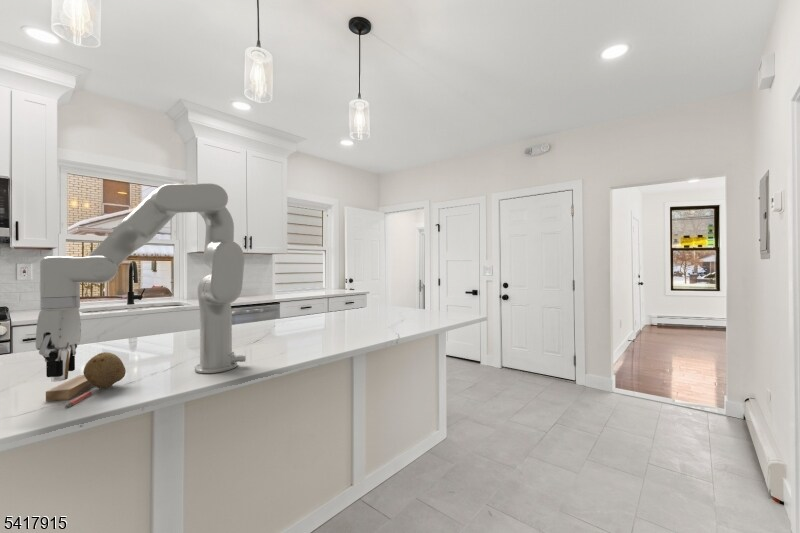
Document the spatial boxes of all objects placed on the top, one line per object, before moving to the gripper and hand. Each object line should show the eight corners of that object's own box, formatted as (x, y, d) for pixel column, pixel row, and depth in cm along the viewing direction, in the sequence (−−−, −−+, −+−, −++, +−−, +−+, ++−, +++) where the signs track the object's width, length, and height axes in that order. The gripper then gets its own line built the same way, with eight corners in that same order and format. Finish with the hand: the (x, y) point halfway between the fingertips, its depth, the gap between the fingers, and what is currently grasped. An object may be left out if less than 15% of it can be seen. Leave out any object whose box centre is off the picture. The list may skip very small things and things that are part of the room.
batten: (99, 382, 107) (99, 373, 107) (69, 399, 93) (69, 389, 93) (79, 383, 106) (79, 375, 106) (45, 401, 92) (45, 391, 92)
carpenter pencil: (91, 394, 97) (91, 391, 97) (68, 407, 88) (68, 404, 88) (87, 394, 97) (87, 391, 97) (64, 408, 88) (64, 404, 88)
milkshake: (59, 383, 91) (58, 344, 91) (42, 381, 92) (41, 343, 92) (78, 377, 96) (77, 340, 95) (62, 376, 97) (61, 339, 97)
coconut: (79, 388, 102) (79, 353, 101) (118, 380, 109) (118, 347, 108) (88, 395, 96) (87, 358, 96) (128, 386, 103) (128, 351, 103)
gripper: (64, 300, 101) (65, 366, 101) (17, 307, 85) (18, 385, 85) (96, 300, 103) (96, 364, 103) (56, 306, 87) (56, 382, 87)
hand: (61, 373), depth 94 cm, fingers closed on milkshake, 4 cm apart
